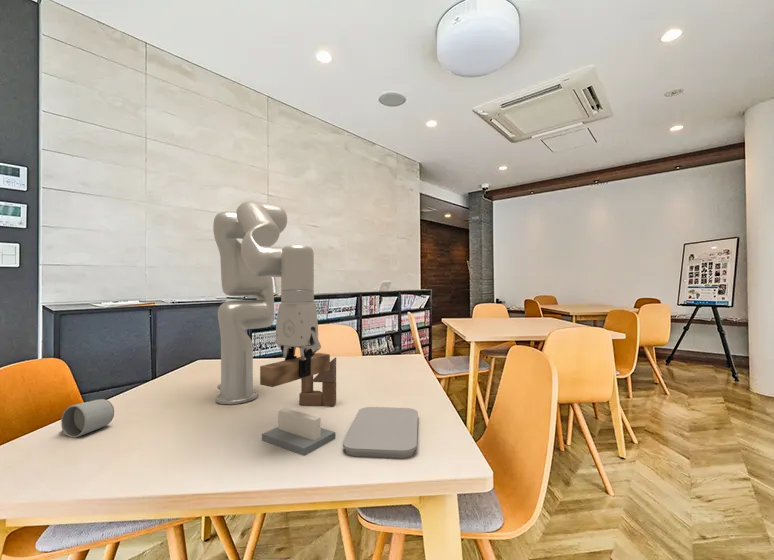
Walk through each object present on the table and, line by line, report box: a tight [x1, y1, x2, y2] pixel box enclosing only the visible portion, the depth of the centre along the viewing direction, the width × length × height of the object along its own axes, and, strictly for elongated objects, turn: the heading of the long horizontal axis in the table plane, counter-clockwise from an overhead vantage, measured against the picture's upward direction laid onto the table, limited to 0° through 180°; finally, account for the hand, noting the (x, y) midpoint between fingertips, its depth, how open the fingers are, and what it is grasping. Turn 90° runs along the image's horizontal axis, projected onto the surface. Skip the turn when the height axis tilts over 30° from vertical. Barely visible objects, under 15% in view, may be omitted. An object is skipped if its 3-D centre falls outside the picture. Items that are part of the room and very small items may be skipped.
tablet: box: [342, 406, 419, 459], centre depth 88 cm, size 16×26×2 cm, turn 174°
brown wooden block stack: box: [298, 345, 337, 407], centre depth 110 cm, size 4×11×18 cm, turn 83°
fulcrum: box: [261, 407, 336, 456], centre depth 85 cm, size 14×10×6 cm
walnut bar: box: [259, 352, 331, 388], centre depth 85 cm, size 18×4×4 cm, turn 147°
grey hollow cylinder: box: [60, 398, 115, 438], centre depth 91 cm, size 11×8×8 cm
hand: (297, 374), depth 85 cm, fingers closed on walnut bar, 4 cm apart
